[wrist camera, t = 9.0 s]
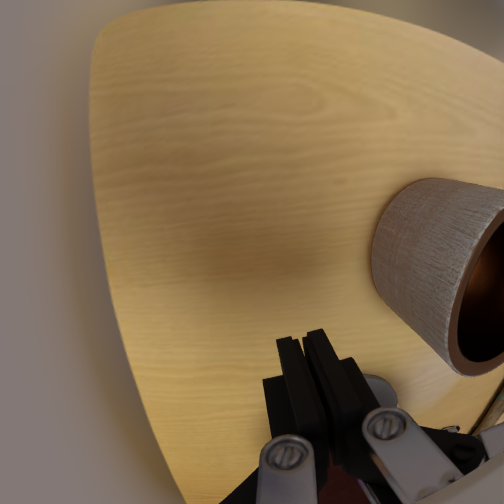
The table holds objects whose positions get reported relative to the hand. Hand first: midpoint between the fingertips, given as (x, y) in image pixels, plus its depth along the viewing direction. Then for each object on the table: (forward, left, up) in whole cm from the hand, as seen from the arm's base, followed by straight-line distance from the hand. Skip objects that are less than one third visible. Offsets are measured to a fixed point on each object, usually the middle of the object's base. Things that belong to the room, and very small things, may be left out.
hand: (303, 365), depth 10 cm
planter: (+1, +12, -11) cm, 16 cm away
